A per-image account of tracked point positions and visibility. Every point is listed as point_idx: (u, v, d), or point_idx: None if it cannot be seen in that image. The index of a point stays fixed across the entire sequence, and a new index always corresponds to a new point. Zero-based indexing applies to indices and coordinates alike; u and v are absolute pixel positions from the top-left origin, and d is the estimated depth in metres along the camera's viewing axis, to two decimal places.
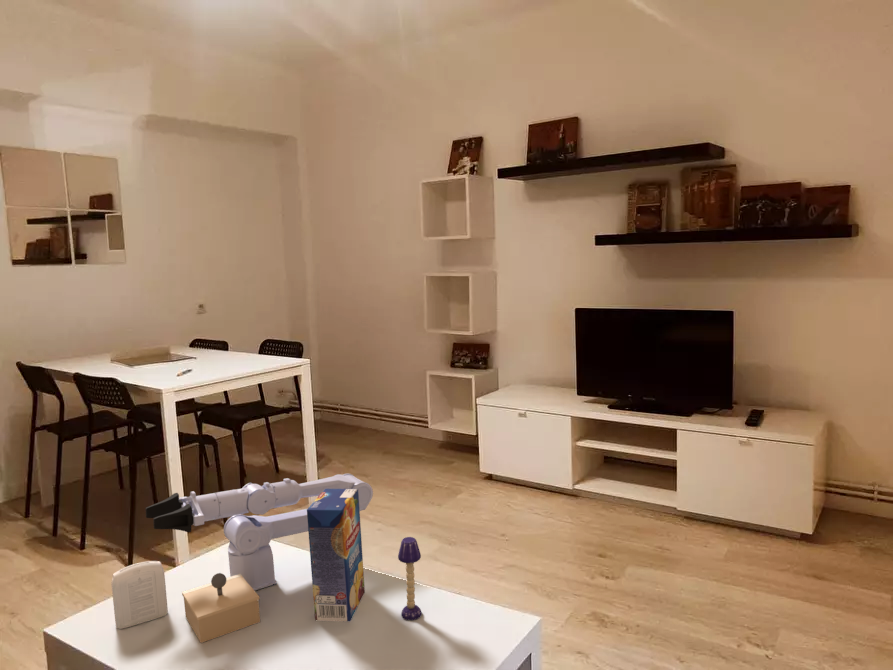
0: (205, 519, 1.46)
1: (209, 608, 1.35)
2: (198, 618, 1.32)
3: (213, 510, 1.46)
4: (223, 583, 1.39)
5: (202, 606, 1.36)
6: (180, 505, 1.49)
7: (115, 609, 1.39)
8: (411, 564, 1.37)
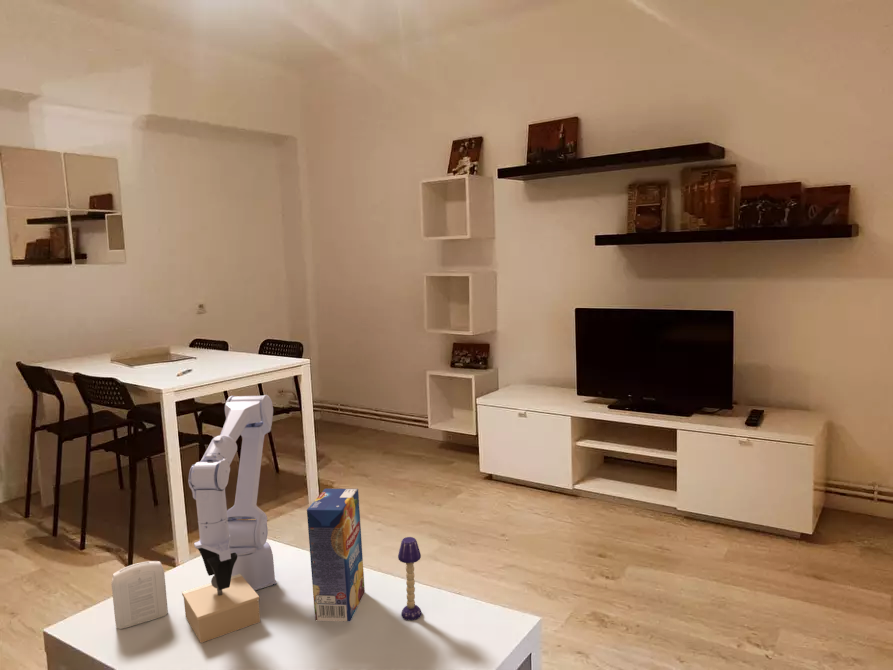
0: (226, 532, 1.38)
1: (209, 608, 1.35)
2: (198, 618, 1.32)
3: (216, 529, 1.36)
4: None
5: (202, 606, 1.36)
6: None
7: (115, 609, 1.39)
8: (411, 564, 1.37)
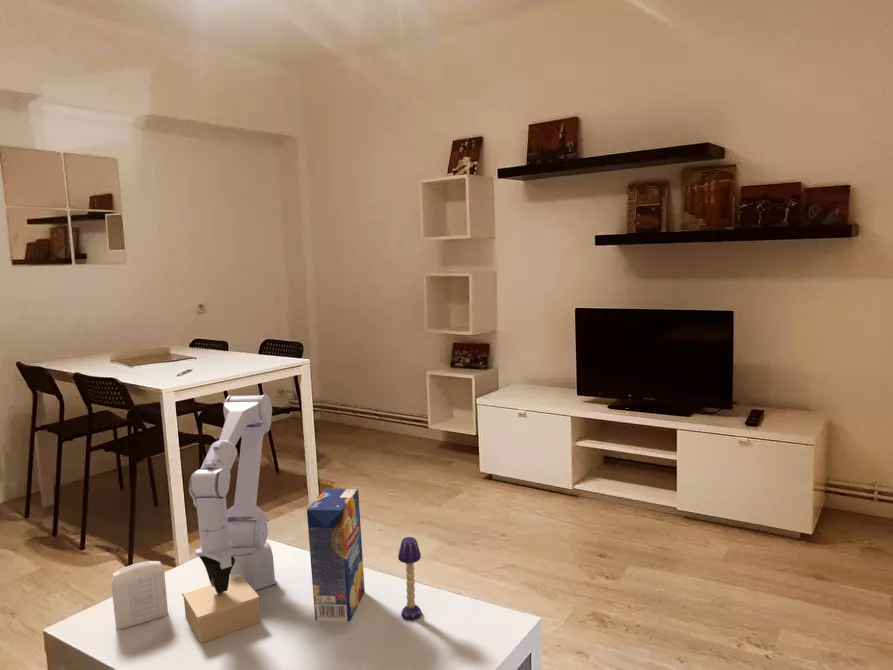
0: (226, 539, 1.38)
1: (209, 608, 1.35)
2: (198, 618, 1.32)
3: (217, 536, 1.36)
4: None
5: (202, 606, 1.36)
6: None
7: (115, 609, 1.39)
8: (411, 564, 1.37)
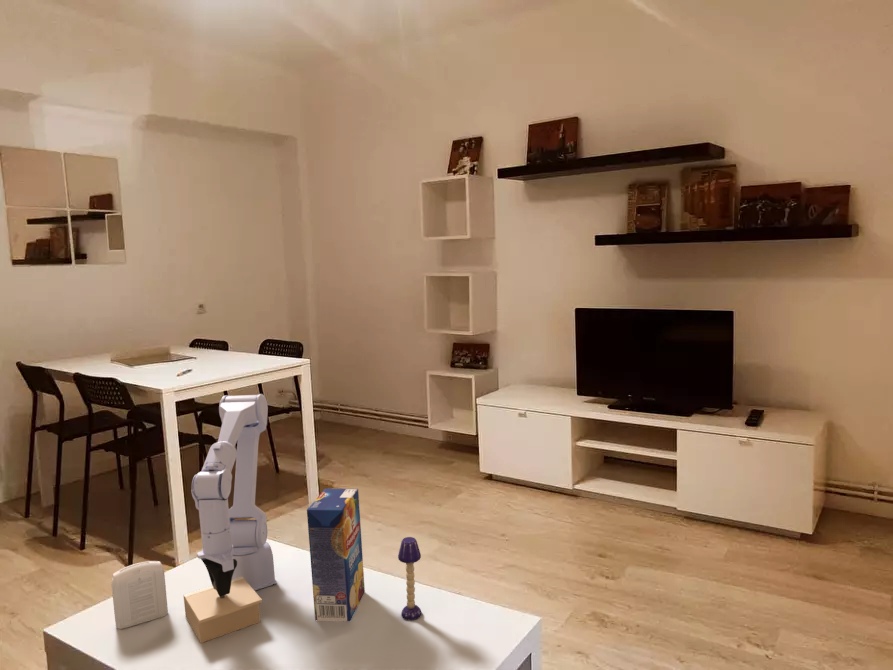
0: (229, 542, 1.37)
1: (211, 611, 1.34)
2: (200, 621, 1.31)
3: (219, 539, 1.35)
4: None
5: (204, 609, 1.35)
6: None
7: (115, 609, 1.39)
8: (411, 564, 1.37)
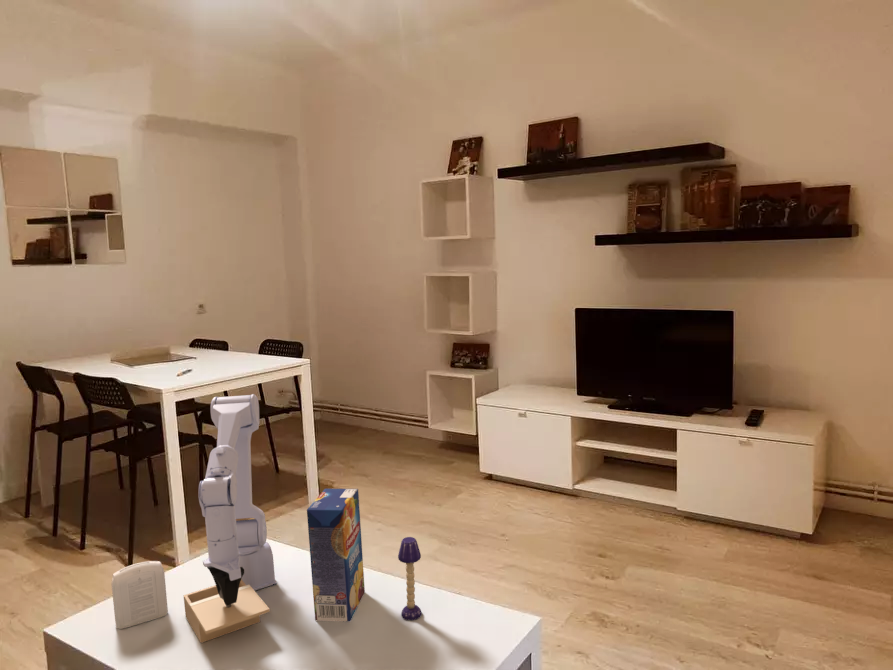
0: (235, 549, 1.33)
1: (218, 621, 1.30)
2: (206, 632, 1.27)
3: (226, 546, 1.31)
4: None
5: (210, 619, 1.31)
6: None
7: (115, 609, 1.39)
8: (411, 564, 1.37)
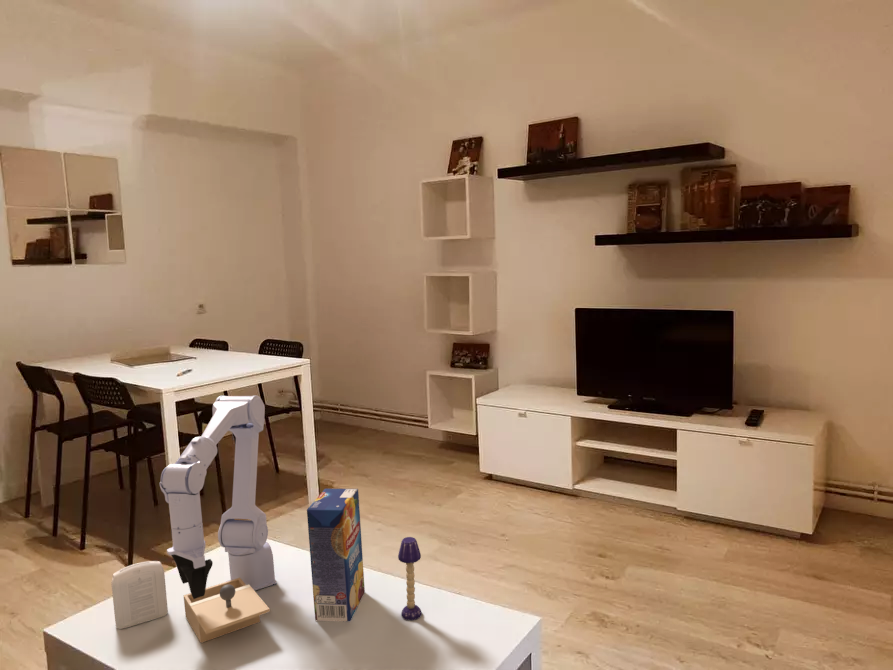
0: (200, 537, 1.31)
1: (218, 621, 1.30)
2: (206, 632, 1.27)
3: (190, 534, 1.29)
4: (232, 595, 1.35)
5: (210, 619, 1.31)
6: None
7: (115, 609, 1.39)
8: (411, 564, 1.37)
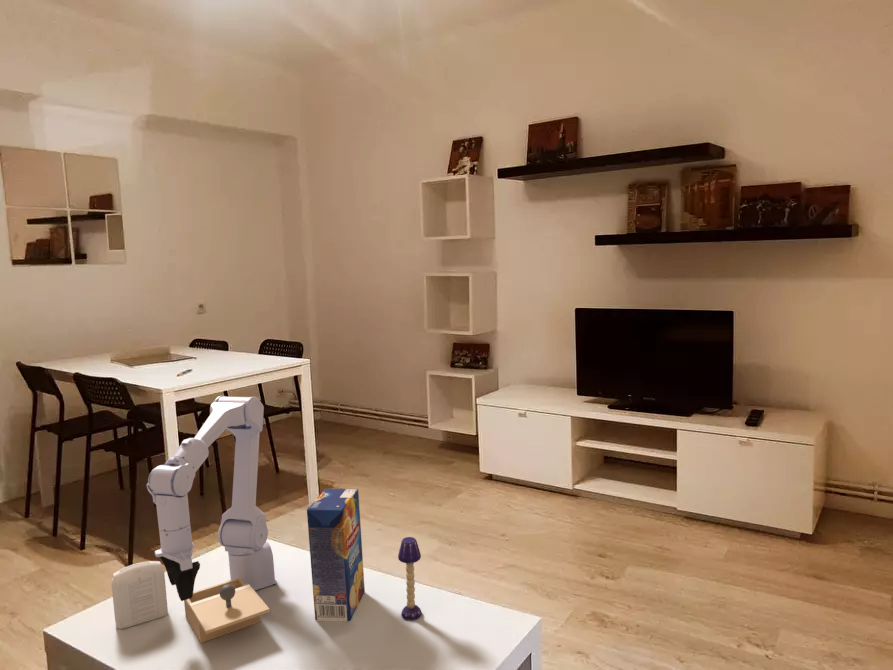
0: (188, 539, 1.31)
1: (218, 621, 1.30)
2: (206, 632, 1.27)
3: (177, 536, 1.29)
4: (232, 595, 1.35)
5: (210, 619, 1.31)
6: None
7: (115, 609, 1.39)
8: (411, 564, 1.37)
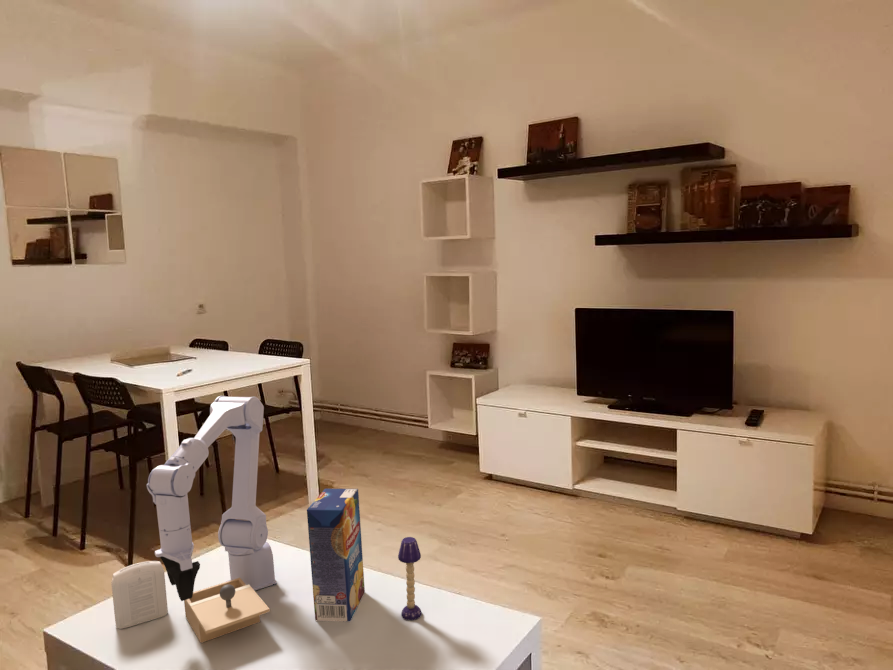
0: (188, 539, 1.31)
1: (218, 621, 1.30)
2: (206, 632, 1.27)
3: (177, 536, 1.29)
4: (232, 595, 1.35)
5: (210, 619, 1.31)
6: None
7: (115, 609, 1.39)
8: (411, 564, 1.37)
